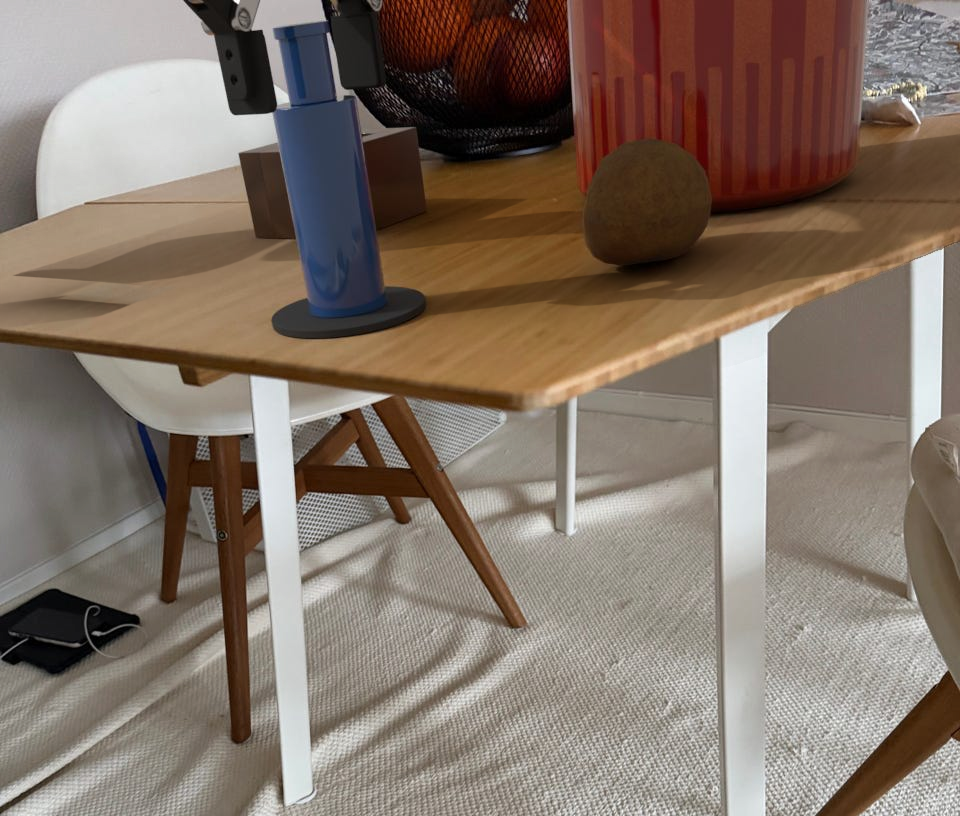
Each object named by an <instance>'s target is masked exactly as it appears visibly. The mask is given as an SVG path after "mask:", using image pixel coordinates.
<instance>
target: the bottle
mask: <svg viewBox="0 0 960 816" xmlns="http://www.w3.org/2000/svg"><path fill="white" fill-rule="evenodd" d="M329 23H330V22H329V20H328V19H327V20H316V21H309V22H301V23H292V24H286V25H285V24H284V25H280V26H279V25H278V26H273V27H272V28H271V29H272V35H273V39H274V40H275V41H277V43H278V48H279V54H280V58H281V64H282V69H283V75H284V81H285V86H286V92H287V96H288V102H283V103H280V104H277V108H276V111H275V112H272V113H271V114H272V120H273V124H274V129H275V136H276V140H277V143H278V146H279V151H280V157H281V162H282V167H283V172H284V178H285V183H286V188H287V193H288V199H289V204H290V209H291V214H292V220H293V225H294V230H295V235H296V239H295V240H296V241H295V242H296V245H297V250H298V255H299V261H300V267H301V271H302V277H303V282H304V287H305V293H306V298H308V303H309V309H310V313H311V314H312V315H313V316H316V317H321V318H343V317H351V316H357V315H362V314H366V313H369V312H372V311H375V310H377V309H379V308H381V307H383V306H384V305H385V304H386V303H387V297H386V290H385V286H386V285H385V278H384V272H383V265H382V259H381V252H380V246H379V239H378V233H377V230H376V225H375V219H374V212H373V206H372V199H371V193H370V186H369V180H368V173H367V167H366V160H365V154H364V147H363V140H362V134H361V129H362V127H361V120H360V114H359V109H358V102H357V97H356V96H355V95H351V94H348V95H347V94H346V95H345V94H344V95H343V94H342V95H338V94H337V89H336V84H335V76H334V70H333V64H332V58H331V54H330V53H331V52H330V46H329V40H328V34H329V33H330V32H331V30H330V25H329Z"/></svg>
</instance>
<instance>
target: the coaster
mask: <svg viewBox="0 0 960 816" xmlns="http://www.w3.org/2000/svg"><path fill="white" fill-rule="evenodd" d="M385 290H386V297H387V303H386V304H385V305H384V306H383V307H381V308H379V309H377V310H375V311H372V312H369V313H366V314H362V315H357V316H351V317H343V318H321V317H316V316H313V315H312V314H311V313H310V309H309V303H308V298H307V297H305V298H302V299H300V300H296V301H294V302H292V303H289V304H287V305H285V306H283V307H281V308H280V309H278V310H276V312H274V314H273V315H272V316H271V319H270V320H271V325H272V328H273V330H274V331H275V332H276V333H278V334H280V335H283V336H286V337H291V338H296V339H297V338H298V339H333V338H343V337H350V336H357V335H362V334H368V333H373V332H377V331H381V330H384V329H388V328H391V327H394V326H397V325H400V324H403V323H405V322H408V321H410V320H412V319H413V318H412V317H414V318H416V317H417V316H418V315H417V314H419V313H420V314H422V313H423V312H424V311H425V309H426V308H425V307H427V300H426V296H425V295H424V293H423V292H421V291H419V290H417V289H414V288H410V287H405V286H390V285H389V286H388V285H385ZM424 308H425V309H424ZM423 310H424V311H423ZM420 314H419V315H420ZM416 315H417V316H416ZM415 316H416V317H415ZM411 318H412V319H411ZM409 319H410V320H409ZM407 320H408V321H407ZM404 321H405V322H404ZM402 322H403V323H402Z"/></svg>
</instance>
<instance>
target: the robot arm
mask: <svg viewBox="0 0 960 816" xmlns="http://www.w3.org/2000/svg"><path fill="white" fill-rule="evenodd" d="M182 1H183V2H184V3H185V4H186V5H187V7H188V8H190V10H191V11H192V12H193V13H194V14H195V15H196V16H197V17H198V18H199V19H200V25H201V28H202V30H203V31H204V33H205V34H206V35H208V36H211V37H212V36H213V38H214V42H215V47H216V52H217V56H218V57H217V58H218V62H219V67H220V72H221V76H222V82H223V86H224V91H225V96H226V101H227V106H228V109H229V112H230V113H231V114H232V115H234V116H251V115H268V114H272V112H275V111H276V108H277V105H278V100H277V95H276V89H275V83H274V79H273V78H274V77H273V72H272V68H271V63H270V57H269V52H268V47H267V41H266V36H265V35H264V30H263V29H256V30H255V29H252V28H253V26H254V23H255V19H256V16H257V13H258V9H259V6H260V3H261V0H182ZM329 1H330V2H331V4H332V5H333V7H334V8H335V10H336V11H337V13H338V14H339V15H334V16H330V21H331V23H330V26H331V32H332V37H333V38H332V39H333V45H334V50H335V58H336V64H337V71H338V76H339V82H340V86H341V87H342V89H344V90H346V91H352V90H365V89H366V90H367V89H368V90H369V89H379V88H382V87H385V86H386V84H387V77H386V69H385V68H386V67H385V63H384V62H385V61H384V56H383V47H382V39H381V32H380V26H379V25H380V24H379V18H378V12H379V11H381V9H382V8H383V0H329Z"/></svg>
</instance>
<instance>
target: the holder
mask: <svg viewBox="0 0 960 816" xmlns="http://www.w3.org/2000/svg"><path fill="white" fill-rule="evenodd" d="M417 131H418V130H417V127H416V126H409V127H408V126H407V127H387V128H386V127H385V128H384V127H383V128H381V127H380V128H361V134H362V140H363V147H364V154H365V160H366V167H367V173H368V180H369V186H370V193H371V199H372V206H373V212H374V219H375V225H376V231H379V230H381V229H384V228H387V227H389V226H392V225H394V224H397V223H401V222H403V221H405V220H407V219H410V218H413V217H416V216H419V215H421V214H424V213H426V212H427V211H428V209H427V202H426V200H427V199H426V195H425V185H424V179H423V170H422V162H421V154H420V147H419V140H418V132H417ZM237 154H238V160H239V164H240V169H241V172H242V173H241V174H242V178H243V182H244V187H245V192H246V196H247V202H248V206H249V211H250V216H251V220H252V226H253V230H254V235H255V238H258V239H286V240H288V239H289V240H296V235H295V230H294V225H293V220H292V214H291V209H290V204H289V199H288V193H287V188H286V183H285V178H284V172H283V167H282V162H281V157H280V151H279V146H278V142H274V143H271V144H266V145H262V146H259V147H256V148H255V147H254V148H251V149H248V150H243V151H240V152H238V153H237Z"/></svg>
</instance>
